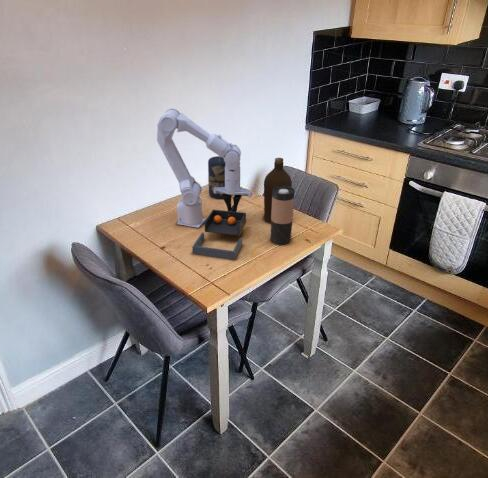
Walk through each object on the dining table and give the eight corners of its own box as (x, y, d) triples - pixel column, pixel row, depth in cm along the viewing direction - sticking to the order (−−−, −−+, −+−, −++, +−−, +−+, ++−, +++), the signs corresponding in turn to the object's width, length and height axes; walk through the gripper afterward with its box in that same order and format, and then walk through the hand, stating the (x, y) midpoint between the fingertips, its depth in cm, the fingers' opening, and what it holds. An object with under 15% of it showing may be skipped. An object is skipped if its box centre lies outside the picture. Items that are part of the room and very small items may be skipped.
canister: (207, 198, 190) (205, 159, 182) (210, 190, 199) (209, 152, 190) (228, 200, 189) (228, 160, 180) (231, 191, 197) (231, 153, 188)
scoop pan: (239, 235, 154) (239, 226, 152) (204, 231, 157) (204, 222, 155) (251, 212, 169) (251, 203, 167) (219, 208, 173) (219, 200, 171)
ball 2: (228, 226, 161) (224, 219, 160) (232, 222, 162) (229, 215, 161) (234, 225, 159) (230, 218, 157) (238, 221, 160) (235, 214, 159)
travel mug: (285, 247, 153) (289, 196, 143) (266, 242, 157) (268, 191, 147) (294, 238, 159) (298, 188, 149) (275, 233, 162) (278, 183, 152)
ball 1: (214, 225, 162) (210, 218, 161) (219, 220, 164) (215, 214, 163) (219, 224, 160) (215, 217, 159) (224, 219, 161) (220, 213, 161)
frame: (202, 239, 159) (201, 232, 158) (242, 244, 155) (242, 237, 154) (192, 253, 151) (192, 246, 149) (234, 259, 147) (234, 252, 145)
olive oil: (264, 225, 168) (267, 164, 155) (260, 213, 177) (262, 154, 165) (291, 224, 168) (296, 163, 156) (286, 212, 178) (290, 153, 165)
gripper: (253, 176, 162) (253, 209, 169) (217, 173, 166) (217, 205, 172) (249, 183, 156) (248, 217, 163) (211, 179, 160) (212, 212, 167)
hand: (232, 211), depth 167 cm, fingers closed on scoop pan, 2 cm apart
